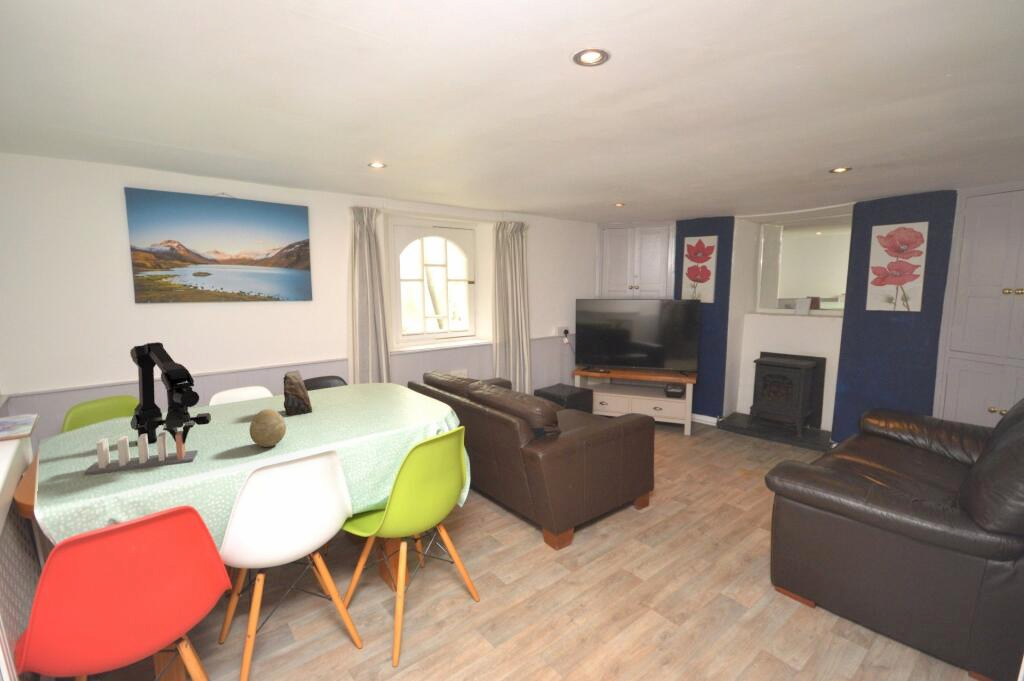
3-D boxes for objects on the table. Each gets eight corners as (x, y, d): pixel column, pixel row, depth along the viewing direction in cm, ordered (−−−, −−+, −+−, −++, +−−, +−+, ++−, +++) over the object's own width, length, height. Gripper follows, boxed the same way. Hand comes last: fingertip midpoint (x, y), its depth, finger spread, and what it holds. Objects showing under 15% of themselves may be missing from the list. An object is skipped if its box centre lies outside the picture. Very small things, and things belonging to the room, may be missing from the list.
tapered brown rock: (286, 417, 217) (284, 376, 215) (277, 411, 226) (275, 371, 224) (313, 412, 226) (311, 372, 223) (304, 406, 235) (302, 368, 232)
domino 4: (162, 456, 167) (160, 432, 165) (167, 455, 167) (165, 431, 166) (158, 461, 162) (156, 436, 161) (164, 460, 163) (162, 436, 162)
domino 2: (124, 460, 162) (122, 436, 161) (130, 459, 163) (127, 435, 161) (119, 465, 157) (117, 440, 156) (125, 465, 158) (123, 440, 157)
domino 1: (104, 463, 160) (101, 438, 158) (110, 462, 160) (107, 437, 159) (99, 468, 155) (96, 443, 154) (105, 467, 156) (102, 442, 155)
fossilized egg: (292, 440, 187) (291, 405, 185) (276, 452, 175) (274, 414, 173) (262, 439, 188) (260, 404, 186) (243, 451, 175) (241, 413, 173)
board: (95, 465, 160) (94, 462, 160) (197, 452, 173) (197, 450, 173) (84, 475, 152) (84, 472, 152) (192, 461, 165) (192, 458, 165)
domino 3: (143, 458, 164) (141, 434, 163) (149, 457, 165) (147, 433, 164) (139, 463, 160) (137, 438, 159) (145, 462, 160) (143, 438, 159)
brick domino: (180, 454, 168) (178, 431, 167) (185, 453, 169) (183, 430, 168) (177, 459, 164) (175, 435, 163) (182, 458, 164) (180, 434, 163)
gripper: (138, 411, 153) (142, 455, 155) (204, 405, 161) (207, 447, 163) (147, 402, 163) (151, 444, 165) (209, 397, 171) (212, 437, 173)
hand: (181, 443), depth 166 cm, fingers closed on brick domino, 2 cm apart
